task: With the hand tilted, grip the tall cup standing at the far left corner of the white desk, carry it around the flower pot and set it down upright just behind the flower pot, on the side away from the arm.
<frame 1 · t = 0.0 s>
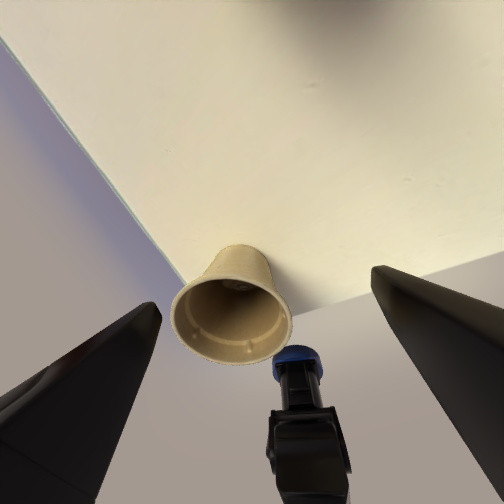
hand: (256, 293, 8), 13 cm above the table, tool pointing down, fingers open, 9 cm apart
flower pot: (242, 266, 24), on the table
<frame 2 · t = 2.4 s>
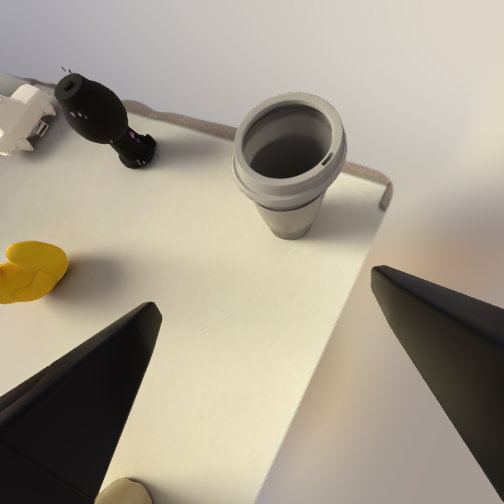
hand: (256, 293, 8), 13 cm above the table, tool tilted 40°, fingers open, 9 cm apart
toy car: (37, 132, 35), on the table
cup: (289, 220, 23), on the table
gumball machine: (141, 157, 29), on the table
duckling: (52, 279, 27), on the table
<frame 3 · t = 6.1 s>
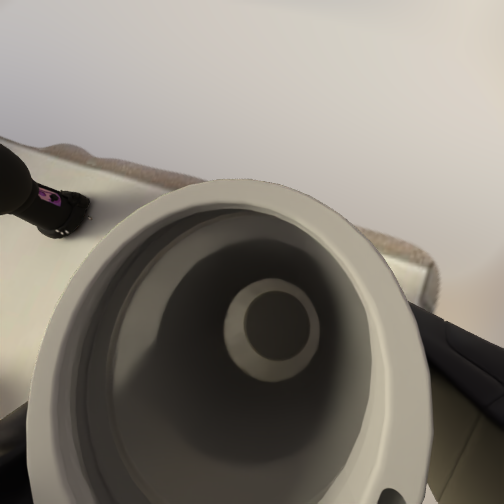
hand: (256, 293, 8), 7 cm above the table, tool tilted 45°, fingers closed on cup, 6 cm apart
cup: (276, 323, 14), on the table, touching gripper
gumball machine: (71, 219, 21), on the table
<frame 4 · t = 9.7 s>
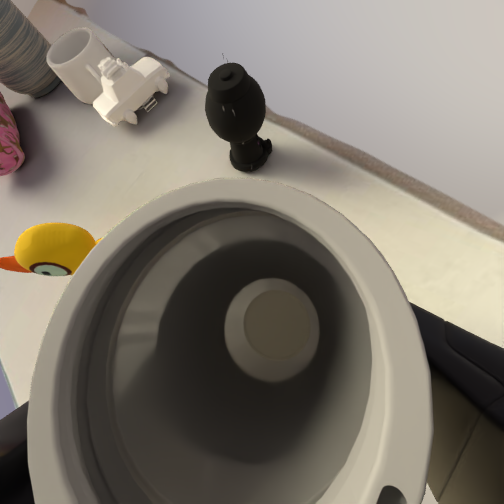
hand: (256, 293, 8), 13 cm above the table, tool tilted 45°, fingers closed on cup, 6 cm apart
toy car: (143, 107, 34), on the table
cup: (276, 323, 14), point 6 cm above the table, touching gripper
gumball machine: (250, 160, 27), on the table
pencil case: (8, 142, 39), on the table
duckling: (130, 265, 26), on the table
mug: (106, 89, 37), on the table
vase: (46, 82, 42), on the table
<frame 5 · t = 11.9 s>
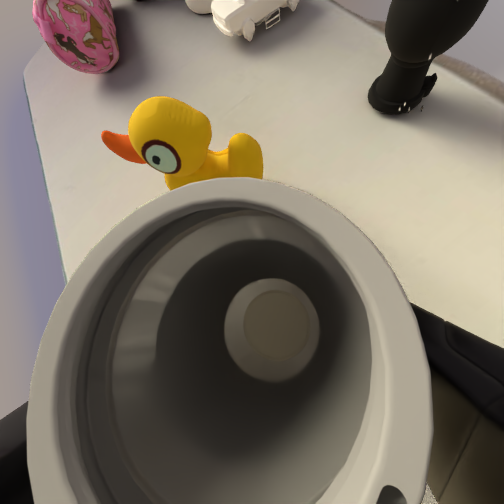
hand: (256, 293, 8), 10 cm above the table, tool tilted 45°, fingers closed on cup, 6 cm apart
toy car: (260, 24, 29), on the table
cup: (276, 323, 14), point 3 cm above the table, touching gripper
gumball machine: (392, 102, 21), on the table
pencil case: (102, 42, 36), on the table
duckling: (218, 193, 22), on the table
mug: (218, 0, 33), on the table
when the fingers open (7 cm above the table, at t = 13.7 s): cup stays where it is, on the table.
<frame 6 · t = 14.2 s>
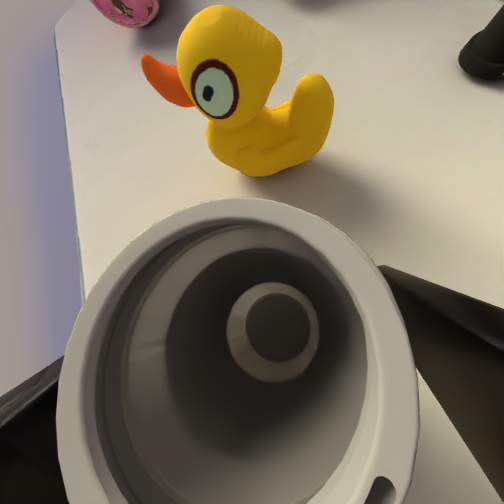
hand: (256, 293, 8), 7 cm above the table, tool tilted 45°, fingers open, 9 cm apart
cup: (277, 325, 15), on the table
gumball machine: (488, 68, 17), on the table
duckling: (262, 163, 19), on the table
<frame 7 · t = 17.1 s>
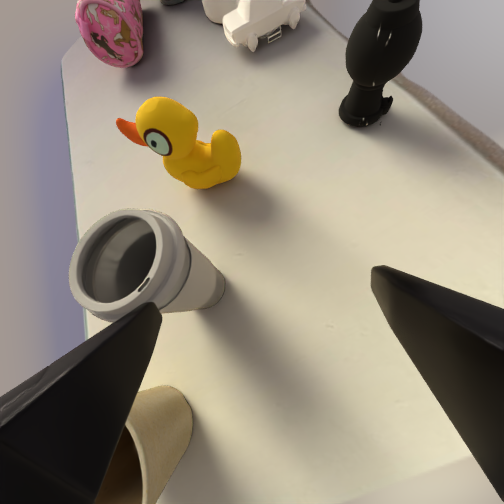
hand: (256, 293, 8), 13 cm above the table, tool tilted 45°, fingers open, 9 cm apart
toy car: (265, 37, 33), on the table
cup: (205, 286, 23), on the table
gumball machine: (359, 116, 25), on the table
pencil case: (131, 40, 41), on the table
duckling: (207, 178, 27), on the table
flower pot: (165, 421, 20), on the table
mug: (233, 12, 37), on the table
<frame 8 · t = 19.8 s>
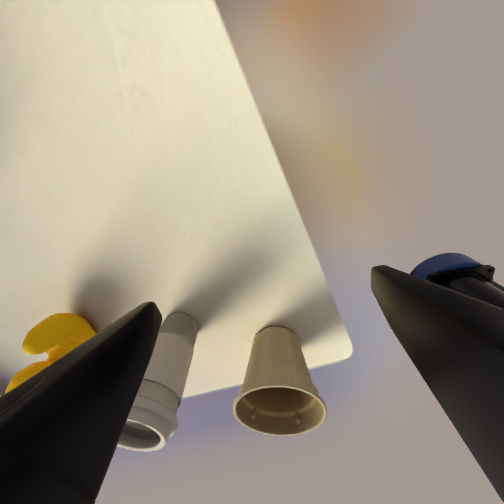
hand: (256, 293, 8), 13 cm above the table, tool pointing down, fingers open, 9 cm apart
cup: (182, 324, 28), on the table
duckling: (87, 328, 30), on the table
flower pot: (275, 340, 29), on the table
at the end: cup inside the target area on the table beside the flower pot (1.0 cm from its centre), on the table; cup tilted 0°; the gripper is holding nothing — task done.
